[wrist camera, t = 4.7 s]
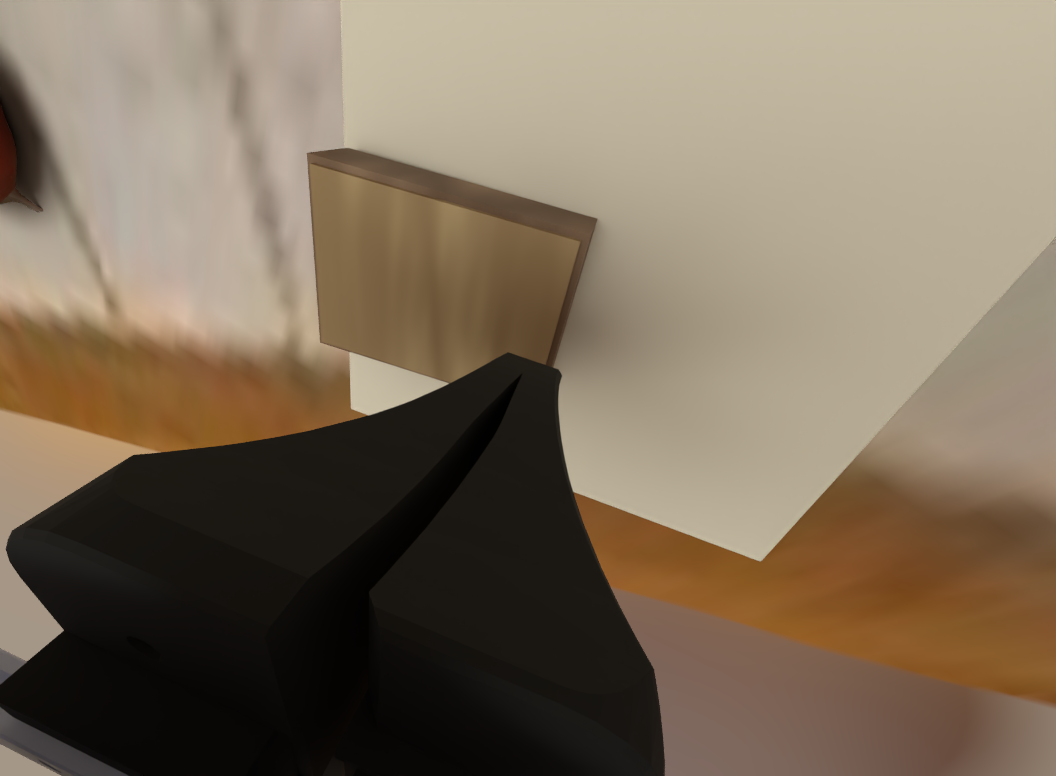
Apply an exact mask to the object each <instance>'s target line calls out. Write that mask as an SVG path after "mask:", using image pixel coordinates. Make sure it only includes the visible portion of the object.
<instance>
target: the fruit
mask: <svg viewBox="0 0 1056 776" xmlns="http://www.w3.org/2000/svg"><path fill="white" fill-rule="evenodd" d="M16 159H17V154H16V147H15V143H14V139H13V135H12V133H11V131H10V129H9V127H8V124H7V121H6V119H5V116H4V113H3V110H2V107H1V104H0V204H3V203H7V202H12V201H13V202H19V203H22V204H24V205H25V206H27V207H28V208H30V209H33V210H35V211H37V212H39V211H43V209H42V208H40V207H38V206H36V205H35V204H33V203H32V202H30V201H29V200H28V199H26V198H25V197H24V196H22V195H21V194H20V193H19V191H18V190H17V189H16V168H17V166H16Z"/></svg>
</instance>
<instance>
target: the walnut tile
mask: <svg viewBox="0 0 1056 776" xmlns="http://www.w3.org/2000/svg"><path fill="white" fill-rule="evenodd" d="M307 160H308V175H309V189H310V203H311V217H312V231H313V246H314V260H315V274H316V288H317V302H318V317H319V331H320V343H324V344H327V345H330V346H333V347H336V348H339V349H343V350H346V351H349V352H352V353H355V354H358V355H361V356H365V357H368V358H371V359H374V360H377V361H380V362H383V363H387V364H390V365H393V366H396V367H399V368H402V369H405V370H409V371H412V372H415V373H418V374H421V375H424V376H428V377H431V378H434V379H437V380H440V381H443V382H446V383H451V382H453V381H455V380H457V379H459V378H461V377H463V376H465V375H467V374H469V373H471V372H473V371H474V370H476V369H478V368H480V367H482V366H483V365H485V364H487V363H489V362H491V361H492V360H494V359H496V358H498V357H499V356H501V355H503V354H505V353H507V352H509V353H512V354H515V355H518V356H521V357H524V358H527V359H529V360H532V361H535V362H538V363H541V364H544V365H547V366H550V367H554V364H555V360H556V357H557V354H558V350H559V347H560V344H561V340H562V337H563V333H564V330H565V327H566V323H567V320H568V317H569V313H570V310H571V307H572V303H573V300H574V297H575V293H576V290H577V286H578V283H579V280H580V276H581V273H582V270H583V266H584V263H585V260H586V256H587V253H588V249H589V246H590V243H591V239H592V236H593V233H594V229H595V226H596V223H597V218H593V217H590V216H586V215H583V214H579V213H576V212H572V211H569V210H565V209H562V208H558V207H555V206H551V205H548V204H544V203H541V202H537V201H534V200H530V199H527V198H523V197H520V196H516V195H513V194H509V193H505V192H502V191H498V190H495V189H491V188H488V187H484V186H481V185H477V184H474V183H470V182H467V181H463V180H460V179H456V178H453V177H449V176H446V175H442V174H439V173H435V172H432V171H428V170H425V169H421V168H418V167H414V166H411V165H407V164H404V163H400V162H397V161H393V160H390V159H386V158H383V157H379V156H375V155H372V154H368V153H365V152H361V151H358V150H354V149H351V148H343V149H335V150H327V151H319V152H311V153H307Z"/></svg>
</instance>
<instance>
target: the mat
mask: <svg viewBox="0 0 1056 776" xmlns="http://www.w3.org/2000/svg"><path fill="white" fill-rule="evenodd" d="M340 3H341V42H342V80H343V119H344V148H351V149H354V150H358V151H361V152H365V153H368V154H372V155H375V156H379V157H383V158H386V159H390V160H393V161H397V162H400V163H404V164H407V165H411V166H414V167H418V168H421V169H425V170H428V171H432V172H435V173H439V174H442V175H446V176H449V177H453V178H456V179H460V180H463V181H467V182H470V183H474V184H477V185H481V186H484V187H488V188H491V189H495V190H498V191H502V192H505V193H509V194H513V195H516V196H520V197H523V198H527V199H530V200H534V201H537V202H541V203H544V204H548V205H551V206H555V207H558V208H562V209H565V210H569V211H572V212H576V213H579V214H583V215H586V216H590V217H593V218H597V223H596V226H595V229H594V233H593V236H592V239H591V243H590V246H589V249H588V253H587V256H586V260H585V263H584V266H583V270H582V273H581V276H580V280H579V283H578V286H577V290H576V293H575V297H574V300H573V303H572V307H571V310H570V313H569V317H568V320H567V323H566V327H565V330H564V333H563V337H562V340H561V344H560V347H559V350H558V354H557V357H556V360H555V364H554V367H553V368H556V369H559V371H560V372H561V374H562V378H561V381H560V384H559V396H558V408H559V421H560V432H561V439H562V446H563V451H564V457H565V462H566V466H567V471H568V475H569V479H570V483H571V486H572V490H573V492H576V493H578V494H581V495H584V496H586V497H589V498H592V499H594V500H597V501H600V502H602V503H605V504H608V505H610V506H613V507H616V508H618V509H621V510H624V511H626V512H629V513H632V514H634V515H637V516H640V517H642V518H645V519H648V520H651V521H653V522H656V523H659V524H661V525H664V526H667V527H669V528H672V529H675V530H677V531H680V532H683V533H685V534H688V535H691V536H693V537H696V538H699V539H701V540H704V541H707V542H709V543H712V544H715V545H717V546H720V547H723V548H726V549H728V550H731V551H734V552H736V553H739V554H742V555H744V556H747V557H750V558H752V559H755V560H758V561H760V562H761V561H762V560H763V559H764V558H765V556H766V555H767V554H768V553H769V552H770V551H771V550H772V549H773V548H774V546H775V545H776V544H777V543H778V542H779V541H780V540H781V539H782V538H783V537H784V535H785V534H786V533H787V532H788V531H789V530H790V529H791V528H792V527H793V526H794V524H795V523H796V522H797V521H798V520H799V519H800V518H801V517H802V516H803V515H804V513H805V512H806V511H807V510H808V509H809V508H810V507H811V506H812V505H813V504H814V502H815V501H816V500H817V499H818V498H819V497H820V496H821V495H822V494H823V493H824V491H825V490H826V489H827V488H828V487H829V486H830V485H831V484H832V483H833V482H834V480H835V479H836V478H837V477H838V476H839V475H840V474H841V473H842V472H843V471H844V469H845V468H846V467H847V466H848V465H849V464H850V463H851V462H852V461H853V460H854V458H855V457H856V456H857V455H858V454H859V453H860V452H861V451H862V450H863V449H864V447H865V446H866V445H867V444H868V443H869V442H870V441H871V440H872V439H873V438H874V436H875V435H876V434H877V433H878V432H879V431H880V430H881V429H882V428H883V426H884V425H885V424H886V423H887V422H888V421H889V420H890V419H891V418H892V417H893V415H894V414H895V413H896V412H897V411H898V410H899V409H900V408H901V407H902V406H903V404H904V403H905V402H906V401H907V400H908V399H909V398H910V397H911V396H912V395H913V393H914V392H915V391H916V390H917V389H918V388H919V387H920V386H921V385H922V384H923V382H924V381H925V380H926V379H927V378H928V377H929V376H930V375H931V374H932V373H933V371H934V370H935V369H936V368H937V367H938V366H939V365H940V364H941V363H942V362H943V360H944V359H945V358H946V357H947V356H948V355H949V354H950V353H951V352H952V351H953V349H954V348H955V347H956V346H957V345H958V344H959V343H960V342H961V341H962V340H963V338H964V337H965V336H966V335H967V334H968V333H969V332H970V331H971V330H972V329H973V327H974V326H975V325H976V324H977V323H978V322H979V321H980V320H981V319H982V318H983V316H984V315H985V314H986V313H987V312H988V311H989V310H990V309H991V308H992V306H993V305H994V304H995V303H996V302H997V301H998V300H999V299H1000V298H1001V297H1002V295H1003V294H1004V293H1005V292H1006V291H1007V290H1008V289H1009V288H1010V287H1011V286H1012V284H1013V283H1014V282H1015V281H1016V280H1017V279H1018V278H1019V277H1020V276H1021V275H1022V273H1023V272H1024V271H1025V270H1026V269H1027V268H1028V267H1029V266H1030V265H1031V264H1032V262H1033V261H1034V260H1035V259H1036V258H1037V257H1038V256H1039V255H1040V254H1041V253H1042V251H1043V250H1044V249H1045V248H1046V247H1047V246H1048V245H1049V244H1050V243H1051V242H1052V240H1053V239H1054V238H1055V237H1056V0H340ZM447 384H449V383H446V382H443V381H440V380H437V379H434V378H431V377H428V376H424V375H421V374H418V373H415V372H412V371H409V370H405V369H402V368H399V367H396V366H393V365H390V364H387V363H383V362H380V361H377V360H374V359H371V358H368V357H365V356H361V355H358V354H355V353H352V352H350V387H351V409H353V410H356V411H359V412H361V413H364V414H367V415H372V414H375V413H378V412H381V411H384V410H387V409H390V408H393V407H396V406H399V405H401V404H404V403H407V402H409V401H412V400H414V399H416V398H419V397H421V396H423V395H425V394H428V393H430V392H432V391H434V390H437V389H439V388H441V387H443V386H445V385H447Z"/></svg>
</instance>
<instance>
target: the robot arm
mask: <svg viewBox="0 0 1056 776" xmlns="http://www.w3.org/2000/svg"><path fill="white" fill-rule="evenodd" d="M561 378H562V374H561V372H560V371H559V369H556V368H553V367H550V366H547V365H544V364H541V363H538V362H535V361H532V360H529V359H527V358H524V357H521V356H518V355H515V354H512V353H509V352H507V353H505V354H503V355H501V356H499V357H498V358H496V359H494V360H492V361H491V362H489V363H487V364H485V365H483V366H482V367H480V368H478V369H476V370H474V371H473V372H471V373H469V374H467V375H465V376H463V377H461V378H459V379H457V380H455V381H453V382H451V383H449V384H447V385H445V386H443V387H441V388H439V389H437V390H434V391H432V392H430V393H428V394H425V395H423V396H421V397H419V398H416V399H414V400H412V401H409V402H407V403H404V404H401V405H399V406H396V407H393V408H390V409H387V410H384V411H381V412H378V413H375V414H372V415H369V416H365V417H362V418H358V419H354V420H350V421H346V422H342V423H338V424H334V425H331V426H327V427H323V428H319V429H315V430H311V431H306V432H301V433H296V434H291V435H286V436H280V437H275V438H269V439H263V440H257V441H251V442H245V443H238V444H231V445H224V446H216V447H207V448H198V449H189V450H180V451H171V452H161V453H152V454H140V455H133V456H131V457H129V458H128V459H126V460H125V461H123V462H121V463H120V464H118V465H116V466H115V467H113V468H112V469H110V470H108V471H107V472H105V473H104V474H102V475H100V476H99V477H97V478H96V479H94V480H92V481H91V482H90V483H88V484H86V485H84V486H83V487H81V488H80V489H78V490H76V491H75V492H73V493H72V494H70V495H68V496H67V497H65V498H64V499H62V500H60V501H59V502H57V503H56V504H54V505H52V506H51V507H49V508H48V509H46V510H44V511H43V512H41V513H40V514H38V515H36V516H35V517H33V518H32V519H30V520H28V521H27V522H25V523H24V524H22V525H20V526H19V527H17V528H16V529H14V530H12V532H11V535H10V536H9V539H8V542H7V546H6V551H7V554H8V558H9V561H10V563H11V564H12V566H13V567H14V569H15V570H16V571H17V573H18V574H19V576H20V577H21V579H22V580H23V581H24V582H25V583H26V585H27V586H28V587H29V588H30V590H31V591H32V592H33V593H34V594H35V595H36V597H37V598H38V599H39V600H40V602H41V603H42V604H43V605H44V606H45V608H46V609H47V610H48V611H49V612H50V614H51V615H52V616H53V617H54V619H55V620H56V621H57V622H58V623H59V624H60V626H61V627H62V628H63V629H64V631H63V632H62V633H61V634H60V635H58V636H57V637H56V638H55V639H54V640H52V641H51V642H50V643H49V644H48V645H46V646H45V647H44V648H43V649H42V650H40V652H38V653H37V654H36V655H35V656H34V657H32V658H31V659H30V660H29V661H25V660H23V659H21V658H19V657H17V656H15V655H12V654H11V653H8V652H6V651H4V650H2V649H0V744H1V745H4V746H5V747H7V748H9V749H11V750H13V751H15V752H17V753H19V754H21V755H23V756H25V757H27V758H29V759H30V760H32V761H34V762H37V763H38V764H40V765H42V766H44V767H46V768H48V769H50V770H52V771H54V772H56V773H57V774H60V775H61V776H665V759H664V746H663V733H662V723H661V714H660V705H659V699H658V692H657V685H656V679H655V673H654V669H653V667H652V665H651V663H650V662H649V660H648V658H647V656H646V654H645V652H644V651H643V649H642V647H641V645H640V644H639V642H638V640H637V638H636V637H635V635H634V633H633V631H632V629H631V627H630V625H629V623H628V621H627V619H626V618H625V616H624V614H623V612H622V610H621V608H620V606H619V604H618V602H617V600H616V598H615V596H614V594H613V591H612V589H611V587H610V585H609V583H608V581H607V579H606V577H605V575H604V572H603V570H602V568H601V566H600V563H599V561H598V558H597V556H596V554H595V551H594V549H593V546H592V544H591V541H590V539H589V536H588V534H587V531H586V529H585V526H584V524H583V521H582V518H581V515H580V512H579V509H578V506H577V503H576V500H575V497H574V493H573V490H572V486H571V483H570V479H569V475H568V471H567V466H566V462H565V457H564V451H563V446H562V439H561V432H560V421H559V408H558V396H559V384H560V381H561Z"/></svg>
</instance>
